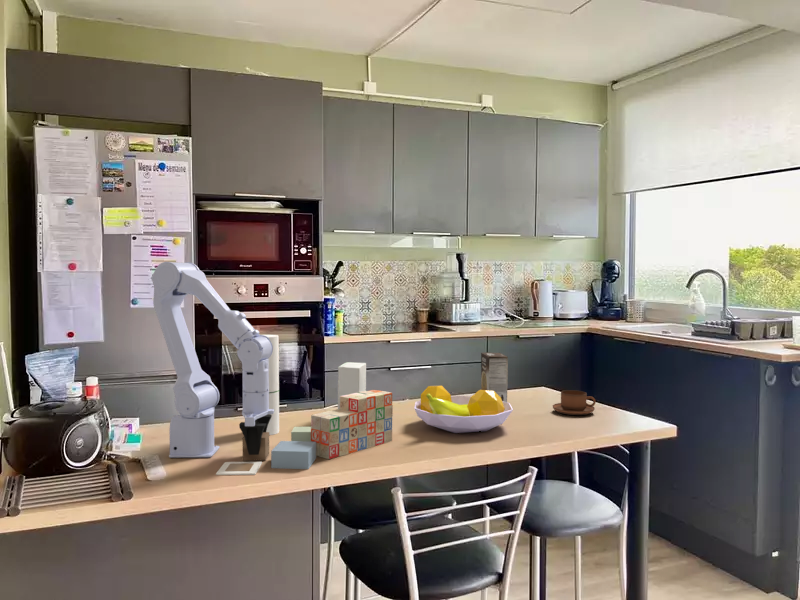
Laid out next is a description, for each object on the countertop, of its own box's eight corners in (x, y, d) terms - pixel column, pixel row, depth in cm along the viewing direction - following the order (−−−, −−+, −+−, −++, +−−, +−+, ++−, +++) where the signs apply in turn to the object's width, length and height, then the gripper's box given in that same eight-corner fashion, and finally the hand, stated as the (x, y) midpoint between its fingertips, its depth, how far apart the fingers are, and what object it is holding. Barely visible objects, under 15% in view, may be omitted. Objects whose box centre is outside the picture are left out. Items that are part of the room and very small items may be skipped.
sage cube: (291, 453, 149) (291, 432, 149) (294, 447, 154) (294, 426, 154) (313, 453, 150) (313, 431, 149) (315, 447, 155) (315, 426, 154)
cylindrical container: (265, 427, 173) (265, 334, 172) (285, 431, 169) (284, 335, 168) (245, 432, 168) (244, 336, 166) (264, 437, 164) (263, 338, 162)
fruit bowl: (468, 411, 193) (469, 374, 193) (533, 431, 170) (534, 388, 170) (388, 423, 178) (388, 382, 177) (447, 446, 155) (448, 399, 155)
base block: (271, 469, 138) (271, 450, 138) (281, 458, 146) (280, 441, 146) (308, 470, 138) (308, 451, 137) (316, 459, 146) (316, 441, 145)
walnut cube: (242, 460, 143) (242, 437, 143) (247, 453, 148) (247, 432, 148) (265, 460, 143) (265, 437, 143) (269, 453, 148) (269, 432, 148)
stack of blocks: (329, 460, 144) (329, 405, 144) (310, 455, 148) (310, 401, 148) (392, 441, 160) (392, 391, 160) (374, 436, 165) (374, 388, 164)
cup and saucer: (586, 408, 198) (587, 388, 198) (600, 417, 186) (600, 396, 186) (547, 409, 198) (548, 388, 198) (558, 418, 186) (559, 396, 186)
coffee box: (480, 403, 206) (480, 352, 205) (499, 402, 206) (500, 352, 206) (487, 409, 197) (487, 356, 196) (507, 408, 197) (508, 355, 197)
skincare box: (345, 415, 188) (345, 361, 187) (367, 416, 187) (367, 362, 186) (336, 422, 180) (336, 366, 179) (359, 423, 178) (359, 366, 178)
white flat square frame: (215, 474, 133) (215, 473, 133) (225, 463, 141) (225, 461, 141) (255, 474, 134) (255, 472, 134) (262, 463, 142) (262, 461, 142)
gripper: (268, 396, 138) (268, 460, 138) (278, 384, 152) (279, 442, 153) (234, 396, 138) (235, 460, 138) (248, 384, 152) (248, 442, 153)
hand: (256, 450), depth 146 cm, fingers closed on walnut cube, 5 cm apart
